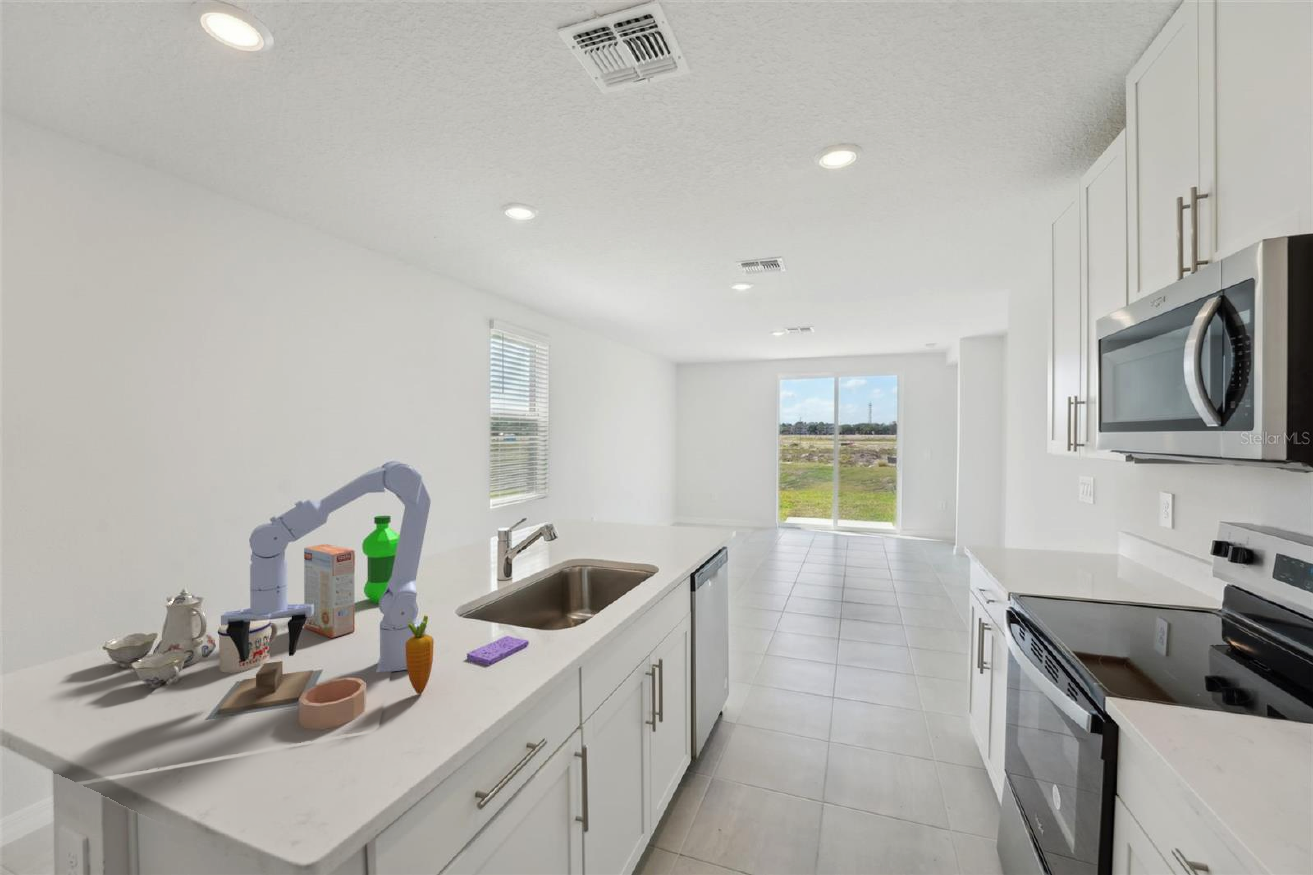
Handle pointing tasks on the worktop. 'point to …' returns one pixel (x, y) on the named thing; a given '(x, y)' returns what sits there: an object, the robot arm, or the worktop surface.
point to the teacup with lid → (257, 647)
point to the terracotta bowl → (332, 703)
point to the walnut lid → (267, 688)
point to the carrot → (419, 656)
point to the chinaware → (167, 643)
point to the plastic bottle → (379, 557)
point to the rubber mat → (216, 710)
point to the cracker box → (330, 589)
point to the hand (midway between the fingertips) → (269, 656)
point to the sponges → (497, 650)
